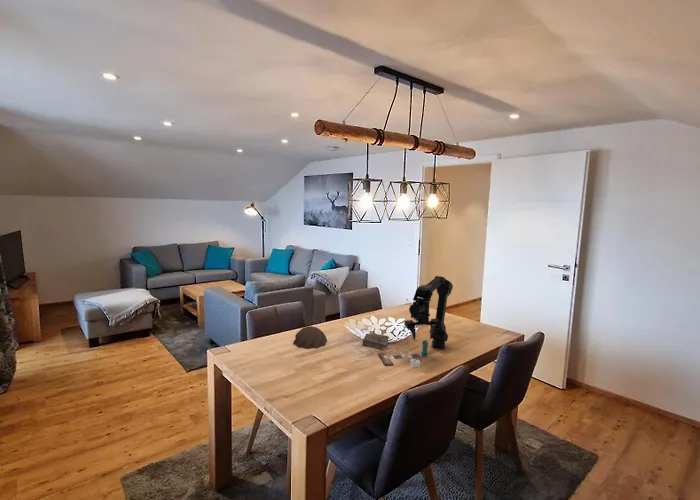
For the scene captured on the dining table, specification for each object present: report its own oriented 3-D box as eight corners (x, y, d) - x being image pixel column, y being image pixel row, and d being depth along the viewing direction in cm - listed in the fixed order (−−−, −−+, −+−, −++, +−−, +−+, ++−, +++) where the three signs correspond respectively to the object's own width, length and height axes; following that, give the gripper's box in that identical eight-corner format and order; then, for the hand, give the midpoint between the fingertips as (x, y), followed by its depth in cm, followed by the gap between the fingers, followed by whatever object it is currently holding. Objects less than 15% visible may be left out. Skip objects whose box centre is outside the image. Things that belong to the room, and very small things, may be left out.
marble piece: (386, 351, 211) (386, 344, 210) (360, 348, 214) (360, 341, 214) (390, 340, 227) (390, 334, 226) (366, 338, 230) (366, 331, 230)
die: (417, 366, 193) (417, 358, 192) (420, 369, 189) (420, 361, 188) (409, 366, 192) (410, 358, 192) (412, 370, 188) (412, 362, 188)
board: (426, 352, 211) (426, 349, 210) (436, 362, 197) (436, 360, 197) (378, 354, 205) (378, 352, 205) (385, 366, 192) (385, 363, 192)
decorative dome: (299, 351, 208) (300, 334, 207) (289, 339, 226) (289, 323, 224) (332, 346, 216) (332, 329, 215) (319, 335, 234) (319, 319, 233)
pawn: (426, 353, 205) (427, 339, 204) (429, 356, 201) (429, 341, 200) (420, 354, 204) (420, 339, 203) (422, 356, 201) (423, 341, 200)
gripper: (434, 305, 204) (433, 332, 207) (401, 307, 201) (400, 334, 203) (442, 311, 193) (441, 340, 196) (408, 313, 190) (407, 342, 192)
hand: (422, 339), depth 197 cm, fingers open, 9 cm apart
